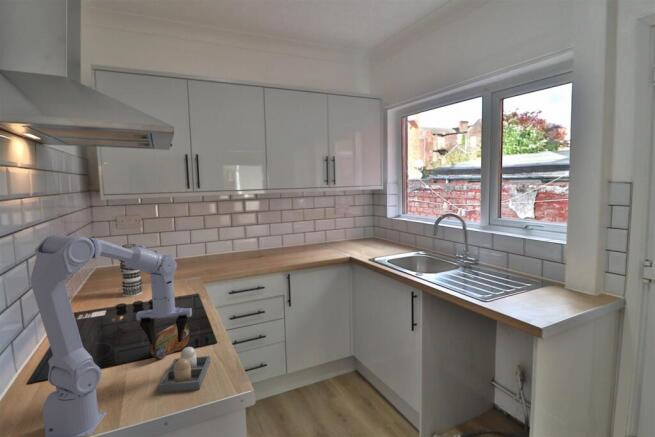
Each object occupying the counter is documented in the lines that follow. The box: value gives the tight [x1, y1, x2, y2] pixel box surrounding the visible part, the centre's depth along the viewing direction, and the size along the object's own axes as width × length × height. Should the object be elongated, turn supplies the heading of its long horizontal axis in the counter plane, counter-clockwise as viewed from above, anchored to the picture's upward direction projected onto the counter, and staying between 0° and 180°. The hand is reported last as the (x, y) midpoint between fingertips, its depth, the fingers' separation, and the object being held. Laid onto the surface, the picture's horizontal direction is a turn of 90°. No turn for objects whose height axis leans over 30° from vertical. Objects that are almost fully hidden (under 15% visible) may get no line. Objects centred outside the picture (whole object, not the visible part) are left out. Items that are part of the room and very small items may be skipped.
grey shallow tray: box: [158, 355, 211, 394], centre depth 100 cm, size 10×14×3 cm
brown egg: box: [174, 358, 192, 383], centre depth 96 cm, size 4×4×7 cm
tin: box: [149, 323, 192, 360], centre depth 115 cm, size 15×3×8 cm, turn 158°
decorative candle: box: [118, 243, 143, 298], centre depth 175 cm, size 9×9×25 cm
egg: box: [180, 346, 197, 369], centre depth 103 cm, size 4×4×7 cm
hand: (166, 341), depth 102 cm, fingers open, 7 cm apart
